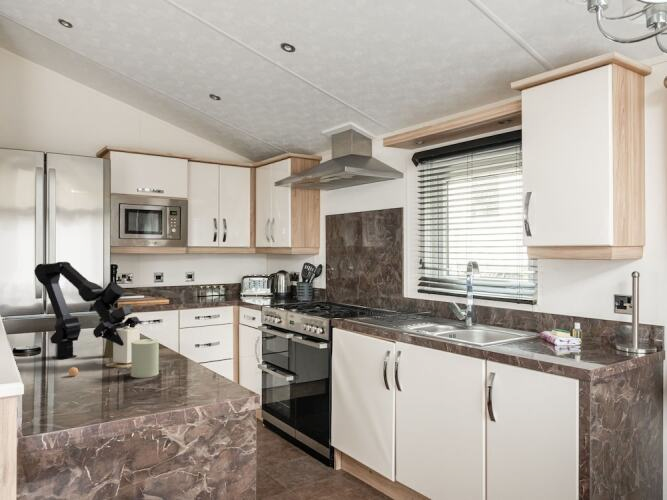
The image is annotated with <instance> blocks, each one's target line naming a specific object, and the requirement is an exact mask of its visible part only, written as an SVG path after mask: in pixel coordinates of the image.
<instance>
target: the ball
mask: <svg viewBox="0 0 667 500" xmlns="http://www.w3.org/2000/svg"><path fill="white" fill-rule="evenodd" d="M78 374H79V369H78V368H77V367H75V366H73V367H70V368H69V369H68V375H69V376H70V377H75V376H77V375H78Z"/></svg>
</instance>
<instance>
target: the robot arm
mask: <svg viewBox="0 0 667 500" xmlns="http://www.w3.org/2000/svg"><path fill="white" fill-rule="evenodd" d="M34 275H35V277H36V278H37V280H38V282H39V283H40V284H42V286H44V287H45V290H46V292H47V293H46V294H47V296H48V299H49V301H50V305H51V307H52V309H53V313H54V315H55V319H56V322H55V325H54V330H55V331H54V333H53V334H52V335H51V337H50V338H49V339H50V340H49V341H50V343H51V344H55V355H52V357H51V358H53V359H58V360H66V359H73V358H77V355H76V354H74V341H78V340H79V337H80V334H81V332H82V330H81V327H82V325H81V324H80V322H79V318H78V316H72V315H71V314H70V313H71V312H70V310H69V308H68V306H67V301H66V300H65V297H64V293H63V292H62V288H61V286H60V283H59V282H60V278H61V275H62V277H64V279H66V280H67V281H68V283H70V284H71V285H72V286H74V287H75V288H76V289H77V291H78V295H79V296H80V297H81V299H82V301H84V302H86V303H87V302H88V303H90V302H94V303H93V304H92V303H91V304H90V306H89V312H96V314H97V315H98V316H99V319H98V321H99V323H98V324H97V325H96V327H95V328H93V331H92V332H93V333H92V334H93V336H94V338H96V339H97V338H102V339H104V340H106V339H108V340H110V341H112V342H114V343H116V344H118V345H120V346H123V345H124V343H123V341H122V340H121V338H120V336H119V335H118V333H117V331H116V329H119V328H124V326H130V327H131V328H136V326H137V325H138V324H139V322H140V319H139V318H138V316H131V317H127V316H129V315H132V314H133V312H134V308H133V306H132V305H131V304H126V305H124V306H121V307H118V308H114V306H113V305H115V304H116V303H118V301H119V300H120V299H121V298H122V297H123V295H124V294H125V293H126V292H125V289H124V288H123V287H122V286H121V285H119V284H117V283H115V282H114V281H110V282H108V284H107V286H106V287H105V288H103V287H102V286H101V285H99V284H97V283H95V282H92V281H90V280H88V279H87V278H86V277H84V276H83V274H81V273H80V272H79V271H78V270H76V268H74V266H72V265H71V263H70V262H68V261H57V262H54V263H38V264H37V265H36V266H35V268H34ZM126 317H127V319H126Z"/></svg>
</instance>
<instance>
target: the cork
mask: <svg viewBox="0 0 667 500" xmlns="http://www.w3.org/2000/svg"><path fill="white" fill-rule="evenodd" d="M103 358H107V359H109V358H110V359H113V342H112V341H110V340H108V339H105V345H104V353H103Z"/></svg>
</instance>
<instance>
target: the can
mask: <svg viewBox="0 0 667 500" xmlns="http://www.w3.org/2000/svg"><path fill="white" fill-rule="evenodd" d="M159 344H160V341H159V340H158V339H154V338H153V339H152V338H147V339H145V338H142V339H140V340H135V341H132V342H131V370H130V376H131V377H132V378H137V379H138V378H139V379H141V378H142V379H143V378H152V377H156V376H158V375H159V374H160V372H159V371H160V370H159V357H160V356H159V355H160V354H159V353H160V351H159V346H160V345H159Z"/></svg>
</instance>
